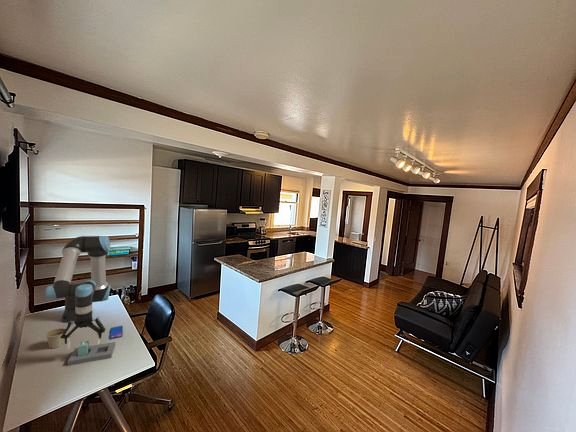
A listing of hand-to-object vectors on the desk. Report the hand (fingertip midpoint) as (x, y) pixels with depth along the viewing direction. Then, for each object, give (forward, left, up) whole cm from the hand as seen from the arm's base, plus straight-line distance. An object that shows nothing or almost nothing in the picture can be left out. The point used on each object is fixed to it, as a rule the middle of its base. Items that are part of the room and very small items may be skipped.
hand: (83, 345), depth 143 cm
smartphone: (-22, +13, -7) cm, 26 cm away
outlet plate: (0, +5, -7) cm, 8 cm away
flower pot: (-17, -17, -7) cm, 25 cm away
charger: (+1, 0, -6) cm, 6 cm away
